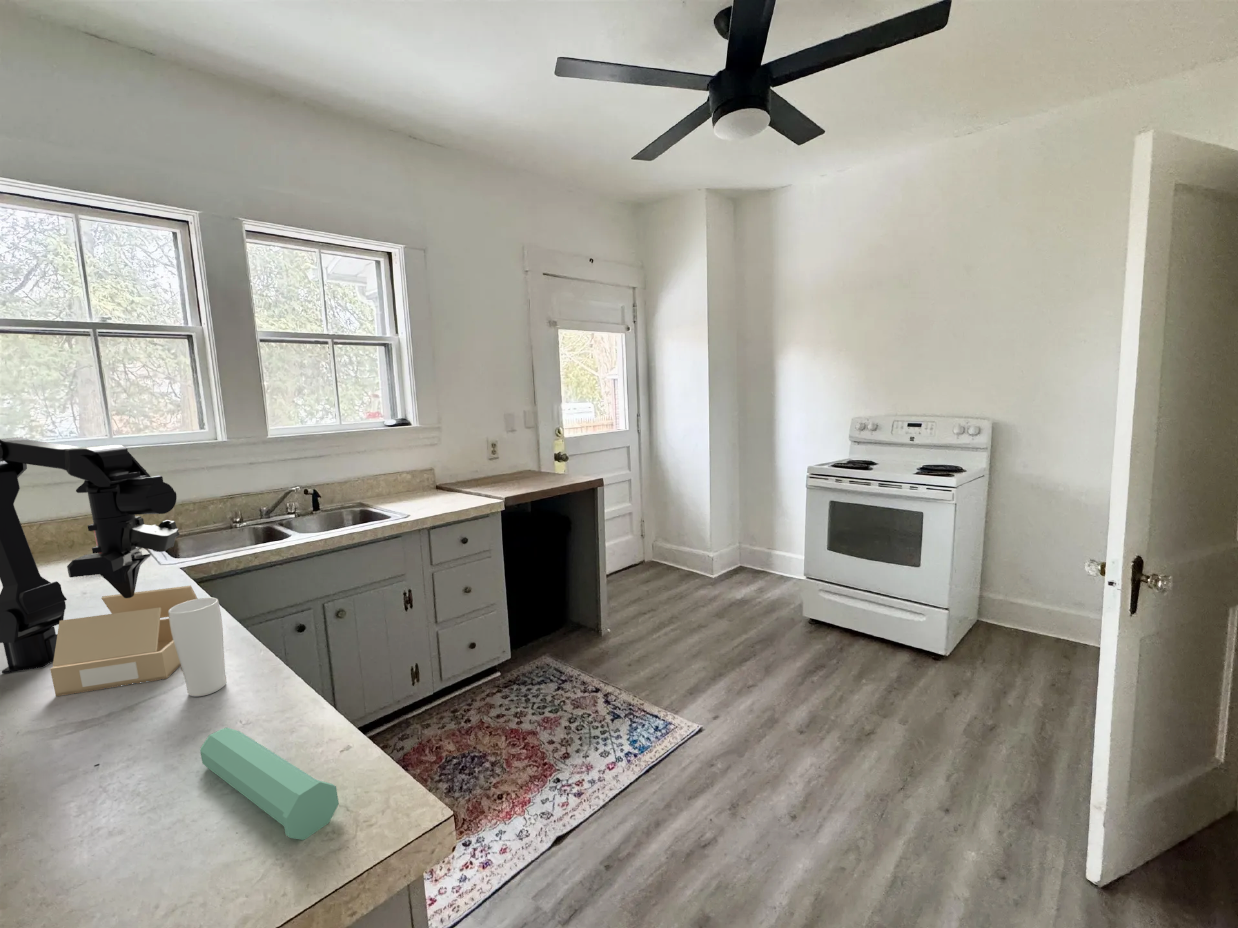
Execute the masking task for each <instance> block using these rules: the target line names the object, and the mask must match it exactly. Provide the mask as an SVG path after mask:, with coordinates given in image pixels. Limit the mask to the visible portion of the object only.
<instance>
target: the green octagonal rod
mask: <svg viewBox="0 0 1238 928" xmlns="http://www.w3.org/2000/svg"><path fill="white" fill-rule="evenodd" d="M199 750H200V756H201V757H200V759H201V762H202V765H203V766H204V767H206V768H207V769H208V770H210V771H212V773H214V774H215V775H216V776H218V777H219V778H221V779H222V780H223V781H224V782H226V783H227V784H228V785H229V786H231V787H232V788H234V789H235V790H236V791H237V792H239V793H240V794H241V795H243V797H244V798H245V797H246V799H248V800H249V801H251V802H252V803H253V804H254V805H256V806H257V807H258V808H259V809H261V810H262V811H263V812H265V813H266V814H267V815H269V817H271V818H273V820H275V821H277V823H279V824H281V825H282V826H283V828H284V832H285V833H284V835H285V836H287V837H288V838H290V839H295V840H296V839H297V840H301V841H304V840H306V839H308V838H309V837H311V836H312V835H313V834H315V833H317V832H319V830H322V828H324V827H325V826H326V825H328V824H329V823H330V822H331V819H332V818H333V816H334V814H335V812H336V810H337V808H338V806H339V798H338V791H337V790H338V789H337V785H335V784H333V783H330V782H327V781H322V780H318V779H316V778H314V777H312V775H310V774H308V773H307V772H305V771H303V770H302V769H300V768H298V767H297V766H296V765H294V764H292V763H291V762H289V761H288V760H286V759H284V758H282V757H281V756H280V755H278V754H276V753H275V752H273V751H272V750H271V749H268V748H267V747H265V745H262V744H261V743H259V742H258V741H256V740H254V739H252V738H251V737H249V736H248V735H247V734H245V733H244V732H241V731H240V730H238V729H233V728H230V727H224V728H221V729H219V730H217V731H214V732H213V733H211V734H209V735H208V736H207V738H206V739H205V740H204V742H203V744H202V745H201V747H200V749H199Z"/></svg>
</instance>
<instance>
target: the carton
mask: <svg viewBox="0 0 1238 928" xmlns="http://www.w3.org/2000/svg"><path fill="white" fill-rule="evenodd" d="M180 667H181V665H180V661H179V658H178V655H177V651H176V648H175V645H174V641H173V638H172V633H171V629H170V622H169V617H167V618H160V624H159V635H158V645H157V651H156V652H149V653H142V654H136V655H129V656H122V657H115V658H109V659H102V660H95V661H88V662H82V663H75V664H68V665H61V666H52V667H51V668H49V670H50V675H51V680H52V684H53V689H54V694H55V697H61V696H62V697H63V696H66V695H73V694H74V693H75V694H80V692H81V693H87V692H92V691H93V690H94V691H100V690H105V689H104V688H106V689H111V687H112V688H117V687H118V686H119V687H122V686H121V685H125V686H129V685H128V684H131V685H133V684H132V683H137V684H141V683H140V682H144V683H147V682H146V681H150V682H155V681H161V679H162V680H167V679H168V678H169V677H171V675H172V674H173V673H175V671H176V670H178V668H180Z"/></svg>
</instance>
